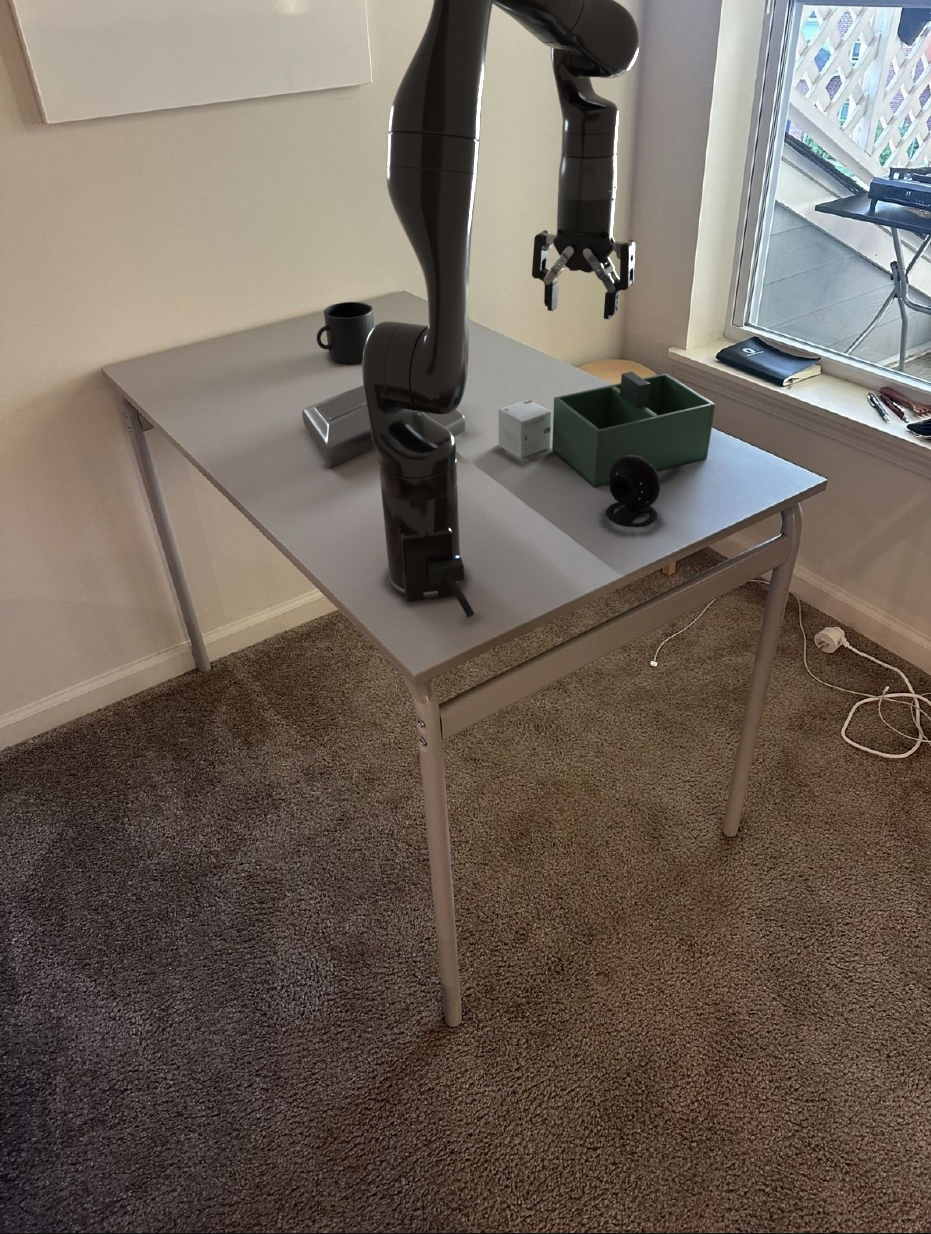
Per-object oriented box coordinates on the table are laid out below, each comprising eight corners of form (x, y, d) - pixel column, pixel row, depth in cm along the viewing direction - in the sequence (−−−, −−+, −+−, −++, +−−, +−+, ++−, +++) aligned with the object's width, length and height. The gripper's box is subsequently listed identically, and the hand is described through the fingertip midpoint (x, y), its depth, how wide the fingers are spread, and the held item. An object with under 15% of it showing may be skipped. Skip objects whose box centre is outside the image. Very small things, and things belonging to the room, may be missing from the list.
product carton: (521, 465, 140) (521, 421, 136) (497, 451, 144) (497, 408, 140) (550, 453, 143) (552, 410, 138) (526, 440, 147) (527, 398, 142)
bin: (659, 425, 147) (667, 351, 140) (707, 458, 138) (718, 381, 130) (551, 451, 141) (554, 375, 133) (594, 487, 132) (599, 408, 124)
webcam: (592, 521, 127) (596, 457, 120) (624, 501, 131) (630, 438, 125) (636, 541, 122) (643, 476, 116) (669, 520, 126) (677, 456, 120)
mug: (309, 356, 178) (303, 311, 173) (363, 342, 183) (358, 298, 178) (330, 371, 172) (324, 324, 166) (385, 357, 177) (381, 311, 171)
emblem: (327, 364, 161) (480, 372, 156) (331, 392, 164) (480, 401, 159) (270, 434, 139) (445, 446, 134) (275, 465, 142) (446, 478, 138)
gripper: (525, 192, 118) (523, 315, 128) (629, 202, 113) (618, 329, 123) (547, 180, 123) (544, 299, 133) (647, 189, 118) (636, 312, 128)
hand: (580, 313), depth 128 cm, fingers open, 8 cm apart
